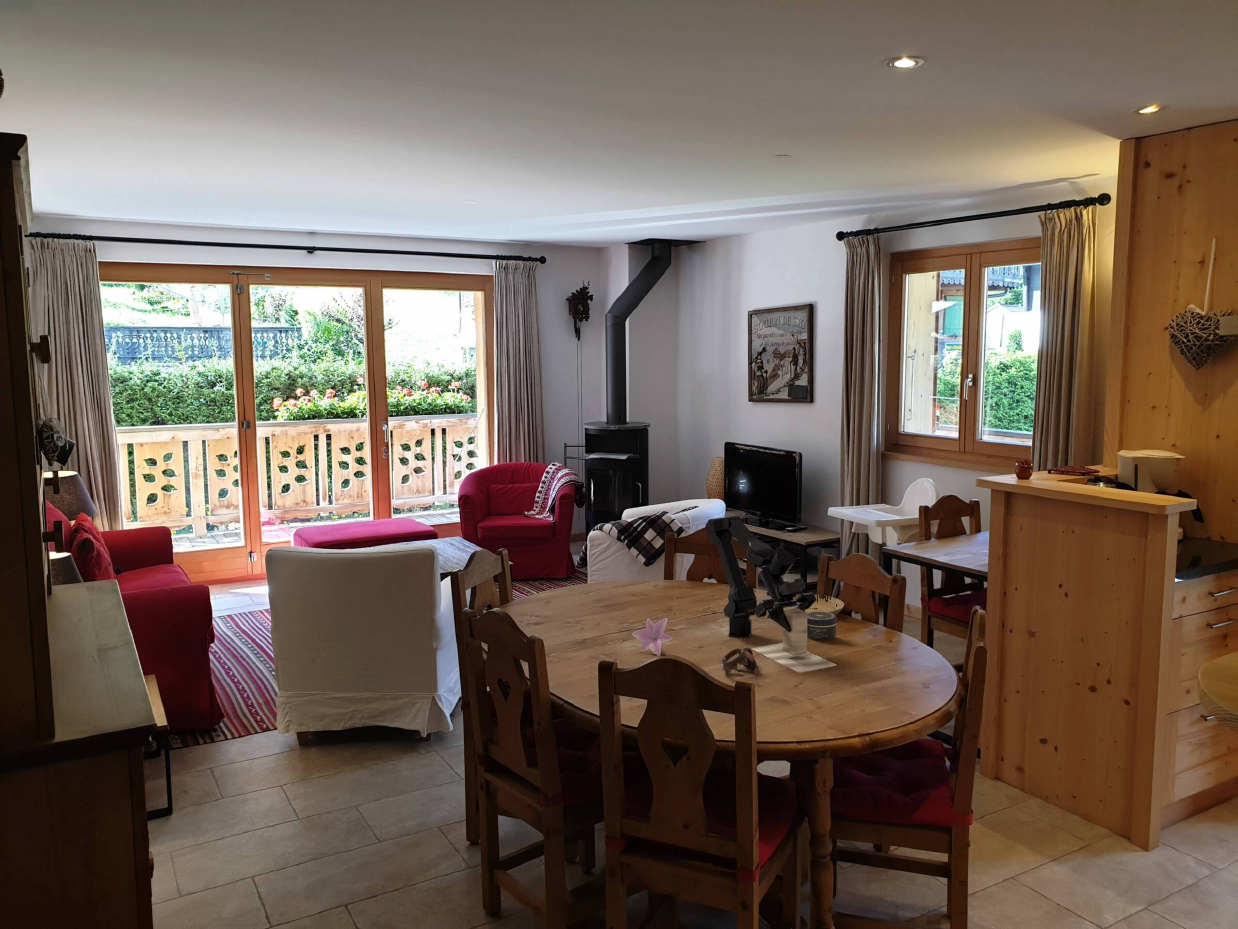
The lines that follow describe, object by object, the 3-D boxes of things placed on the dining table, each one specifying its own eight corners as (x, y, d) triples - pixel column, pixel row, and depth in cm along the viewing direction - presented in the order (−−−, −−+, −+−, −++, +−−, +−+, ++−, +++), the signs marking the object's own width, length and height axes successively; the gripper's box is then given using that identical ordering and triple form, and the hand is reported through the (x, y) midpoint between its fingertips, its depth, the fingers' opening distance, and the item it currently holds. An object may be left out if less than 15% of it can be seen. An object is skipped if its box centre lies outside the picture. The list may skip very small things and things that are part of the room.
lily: (629, 650, 279) (624, 628, 274) (658, 629, 284) (654, 608, 279) (654, 671, 271) (649, 649, 265) (683, 649, 276) (679, 627, 270)
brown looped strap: (757, 683, 247) (742, 658, 246) (729, 692, 252) (713, 669, 251) (767, 659, 258) (752, 635, 256) (739, 668, 262) (725, 645, 261)
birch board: (750, 651, 272) (750, 648, 272) (786, 645, 277) (786, 641, 277) (799, 676, 250) (799, 672, 250) (837, 668, 256) (837, 665, 256)
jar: (836, 644, 277) (837, 620, 276) (803, 643, 279) (803, 619, 278) (835, 634, 286) (836, 611, 286) (803, 633, 288) (803, 610, 288)
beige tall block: (782, 650, 264) (782, 610, 262) (796, 647, 266) (796, 608, 264) (793, 655, 259) (793, 614, 258) (807, 652, 261) (807, 612, 260)
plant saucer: (759, 608, 319) (759, 599, 318) (815, 599, 328) (815, 590, 328) (799, 626, 297) (799, 616, 296) (858, 616, 307) (858, 606, 306)
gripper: (760, 573, 259) (782, 621, 251) (813, 565, 267) (836, 611, 258) (744, 593, 267) (766, 640, 259) (796, 585, 275) (819, 630, 267)
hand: (797, 630), depth 260 cm, fingers closed on beige tall block, 5 cm apart
